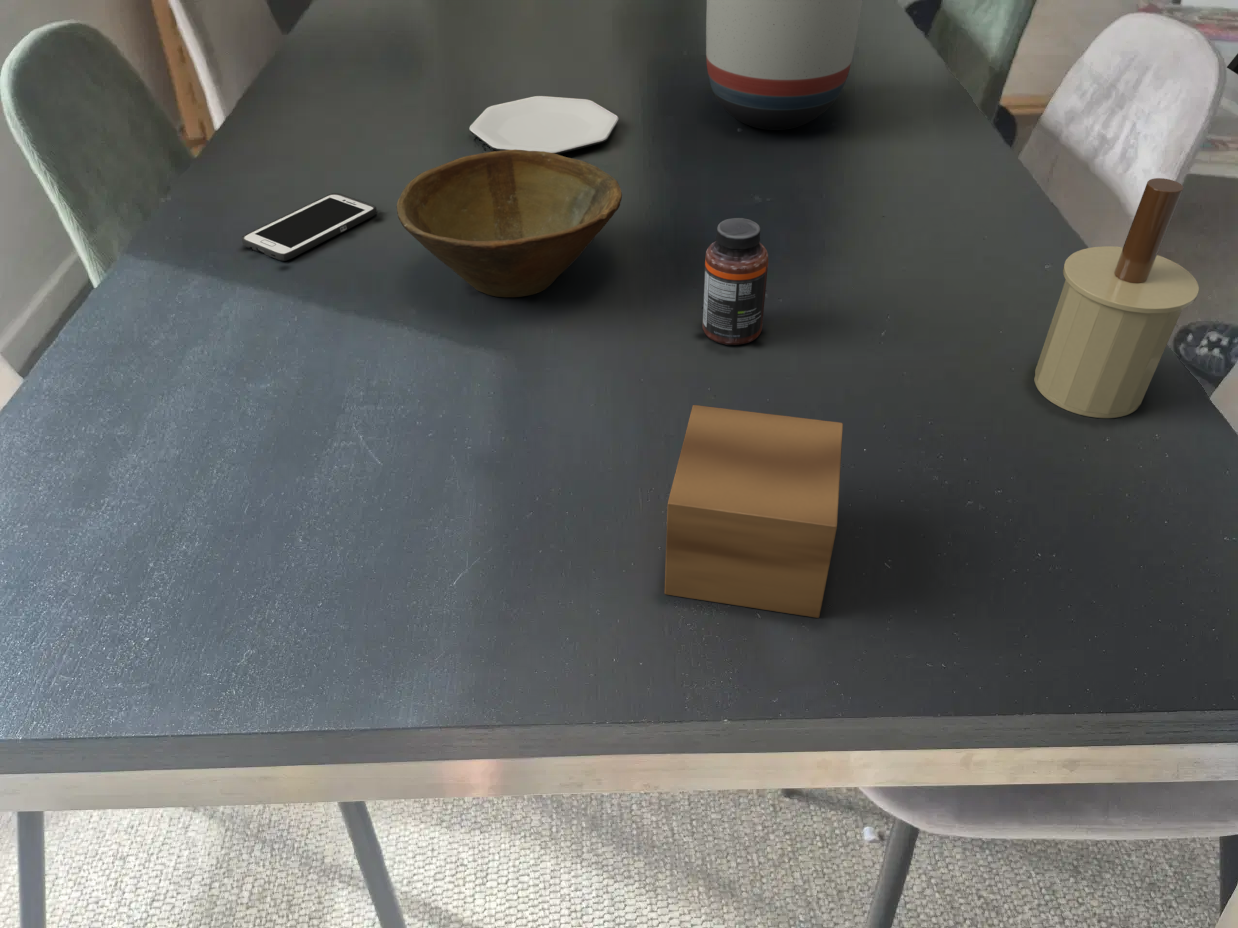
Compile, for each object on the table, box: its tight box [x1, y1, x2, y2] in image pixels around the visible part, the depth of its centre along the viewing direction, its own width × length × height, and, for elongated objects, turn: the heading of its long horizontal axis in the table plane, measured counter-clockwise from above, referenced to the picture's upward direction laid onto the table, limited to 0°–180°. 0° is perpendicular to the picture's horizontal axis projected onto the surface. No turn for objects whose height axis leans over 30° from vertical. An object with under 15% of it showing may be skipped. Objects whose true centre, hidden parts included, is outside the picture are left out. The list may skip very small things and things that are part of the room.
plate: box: [469, 95, 620, 155], centre depth 133 cm, size 20×20×2 cm
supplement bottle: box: [701, 217, 769, 346], centre depth 91 cm, size 6×6×11 cm
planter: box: [705, 0, 864, 131], centre depth 129 cm, size 20×20×21 cm
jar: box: [1033, 280, 1183, 419], centre depth 83 cm, size 9×9×11 cm
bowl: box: [395, 149, 623, 298], centre depth 100 cm, size 22×23×10 cm
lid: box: [1062, 177, 1200, 314], centre depth 77 cm, size 10×10×8 cm
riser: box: [664, 404, 844, 619], centre depth 68 cm, size 11×11×9 cm
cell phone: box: [241, 192, 378, 262], centre depth 111 cm, size 8×15×1 cm, turn 145°
